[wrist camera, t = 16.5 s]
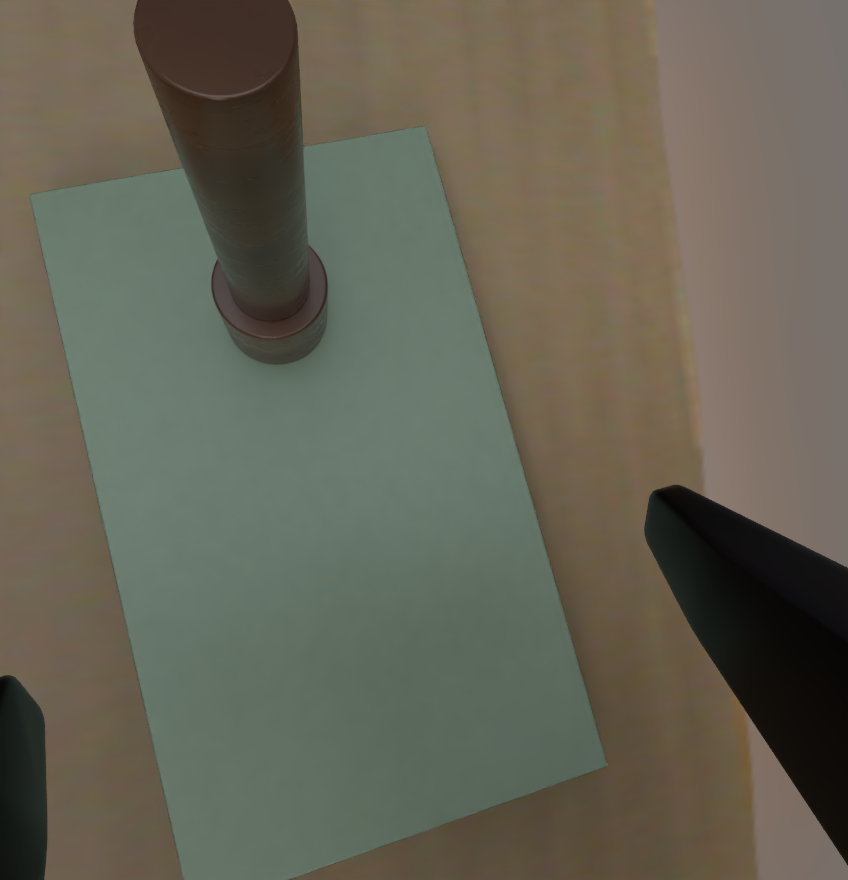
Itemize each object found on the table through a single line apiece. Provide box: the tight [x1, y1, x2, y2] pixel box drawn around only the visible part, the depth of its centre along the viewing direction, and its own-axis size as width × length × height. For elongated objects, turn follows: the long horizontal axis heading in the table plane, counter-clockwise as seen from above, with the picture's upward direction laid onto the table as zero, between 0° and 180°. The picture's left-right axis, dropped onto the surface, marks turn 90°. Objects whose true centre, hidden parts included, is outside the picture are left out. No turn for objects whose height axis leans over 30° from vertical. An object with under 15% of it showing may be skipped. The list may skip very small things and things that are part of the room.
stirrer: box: [133, 0, 328, 365], centre depth 16 cm, size 3×3×13 cm
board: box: [30, 126, 607, 880], centre depth 23 cm, size 22×13×2 cm, turn 15°
